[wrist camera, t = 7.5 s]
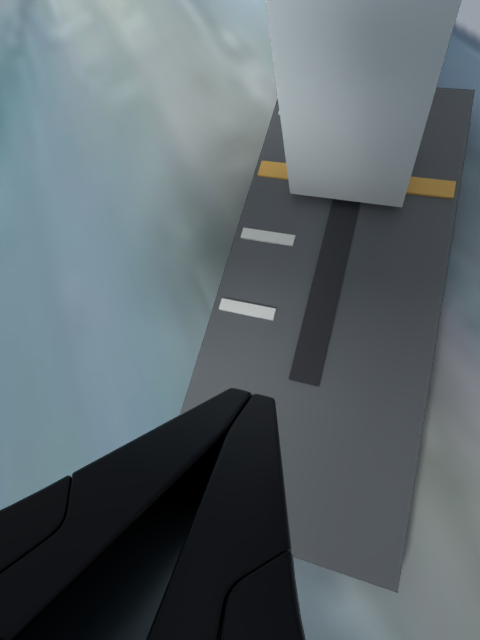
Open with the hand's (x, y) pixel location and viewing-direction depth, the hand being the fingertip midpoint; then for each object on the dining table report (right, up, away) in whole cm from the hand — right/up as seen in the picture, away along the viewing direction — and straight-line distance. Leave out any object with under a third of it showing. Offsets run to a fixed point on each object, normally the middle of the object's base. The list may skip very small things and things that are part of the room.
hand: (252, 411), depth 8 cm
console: (+4, +3, +11) cm, 12 cm away
